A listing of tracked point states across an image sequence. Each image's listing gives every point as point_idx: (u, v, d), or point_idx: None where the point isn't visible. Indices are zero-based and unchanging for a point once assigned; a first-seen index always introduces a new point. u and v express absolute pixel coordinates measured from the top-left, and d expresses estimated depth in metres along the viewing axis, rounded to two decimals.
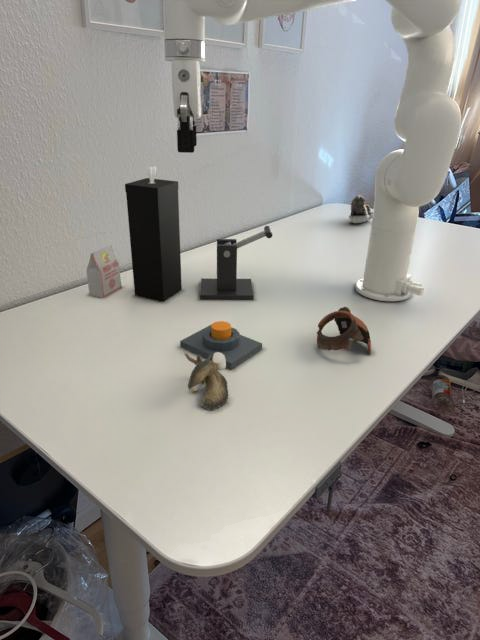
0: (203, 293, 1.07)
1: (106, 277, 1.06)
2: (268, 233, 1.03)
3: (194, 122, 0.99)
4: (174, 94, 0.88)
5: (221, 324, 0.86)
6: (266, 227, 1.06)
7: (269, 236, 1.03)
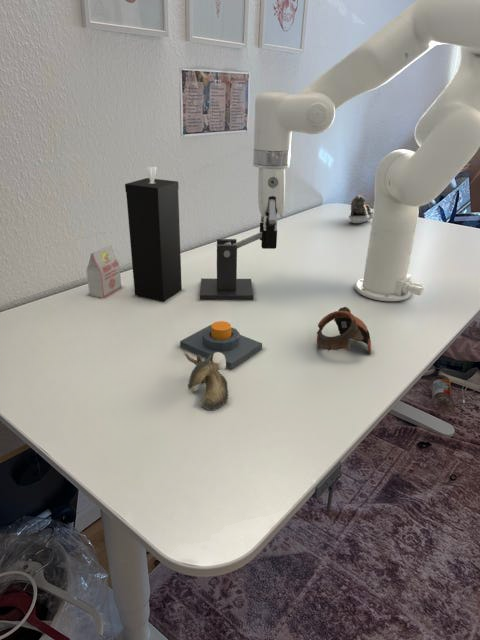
0: (203, 293, 1.07)
1: (106, 277, 1.06)
2: None
3: None
4: (263, 198, 0.97)
5: (221, 324, 0.86)
6: None
7: None
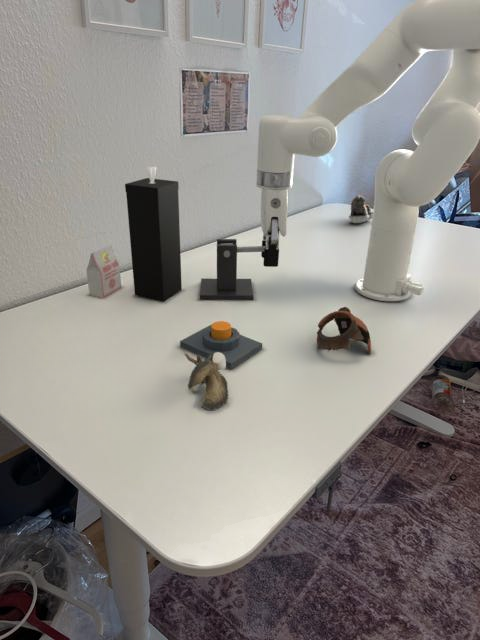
0: (203, 293, 1.07)
1: (106, 277, 1.06)
2: None
3: None
4: (265, 218, 0.99)
5: (221, 324, 0.86)
6: None
7: None
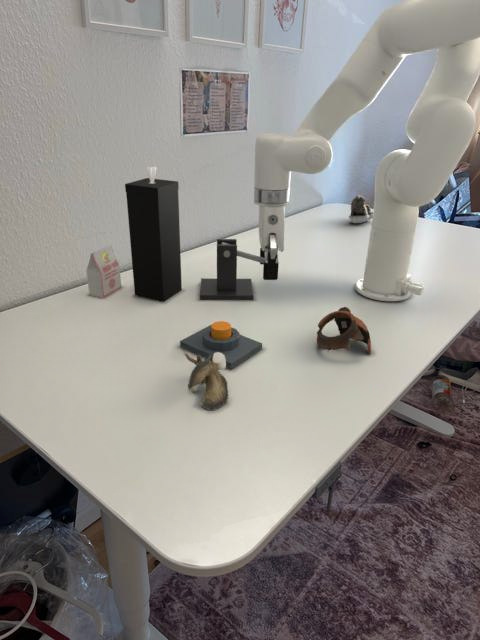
0: (203, 293, 1.07)
1: (106, 277, 1.06)
2: None
3: None
4: (263, 234, 1.00)
5: (221, 324, 0.86)
6: None
7: None
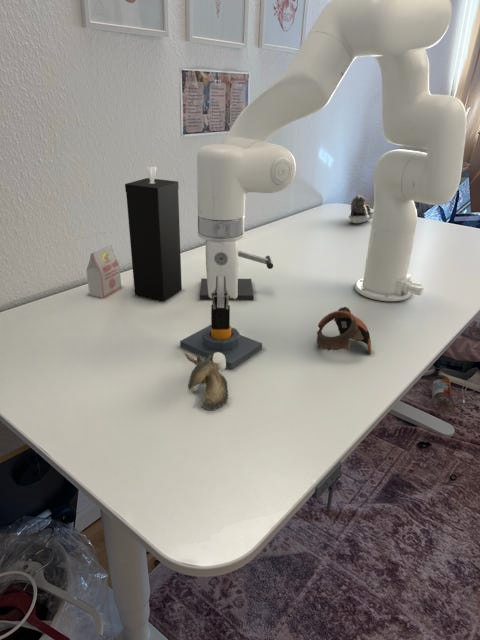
0: (203, 293, 1.07)
1: (106, 277, 1.06)
2: (270, 264, 1.06)
3: None
4: (209, 277, 0.76)
5: None
6: (269, 257, 1.09)
7: (269, 267, 1.06)
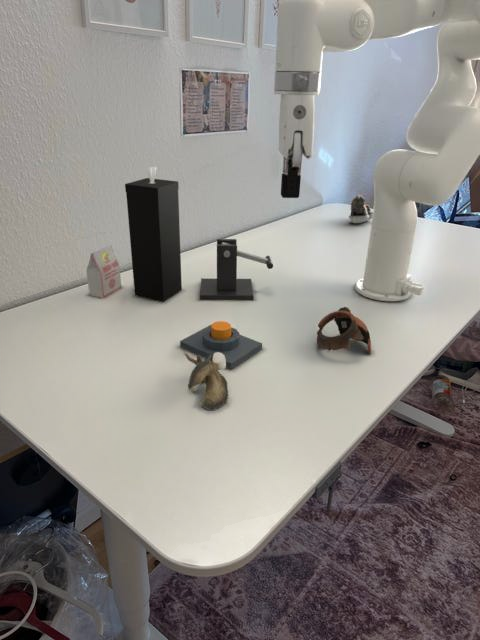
0: (203, 293, 1.07)
1: (106, 277, 1.06)
2: (270, 264, 1.06)
3: None
4: (286, 132, 0.78)
5: (221, 324, 0.86)
6: (269, 257, 1.09)
7: (269, 267, 1.06)
